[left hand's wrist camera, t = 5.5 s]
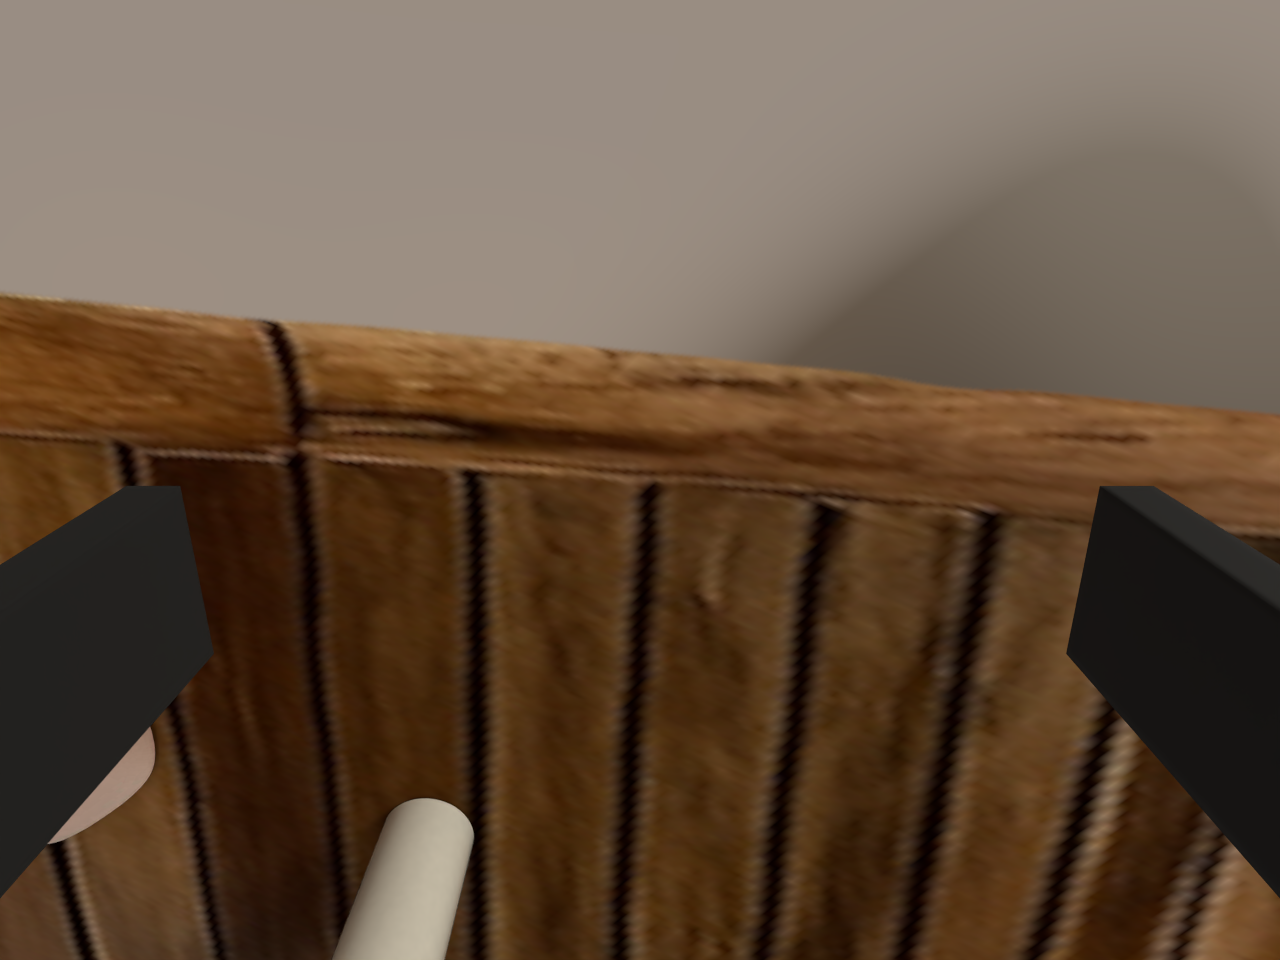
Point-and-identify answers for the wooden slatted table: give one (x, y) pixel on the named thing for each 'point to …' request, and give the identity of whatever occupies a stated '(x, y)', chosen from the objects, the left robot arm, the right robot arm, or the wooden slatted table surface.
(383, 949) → the bottle
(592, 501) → the wooden slatted table surface
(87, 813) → the anatomical model
